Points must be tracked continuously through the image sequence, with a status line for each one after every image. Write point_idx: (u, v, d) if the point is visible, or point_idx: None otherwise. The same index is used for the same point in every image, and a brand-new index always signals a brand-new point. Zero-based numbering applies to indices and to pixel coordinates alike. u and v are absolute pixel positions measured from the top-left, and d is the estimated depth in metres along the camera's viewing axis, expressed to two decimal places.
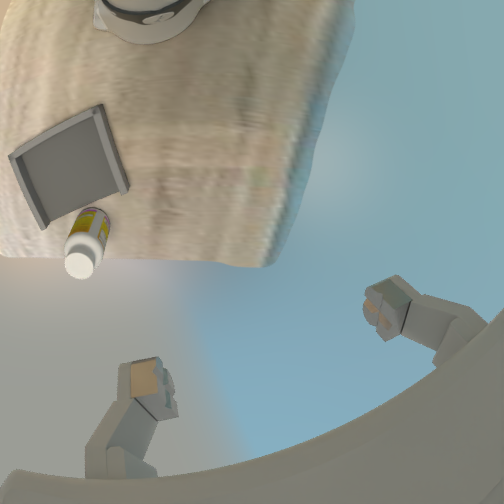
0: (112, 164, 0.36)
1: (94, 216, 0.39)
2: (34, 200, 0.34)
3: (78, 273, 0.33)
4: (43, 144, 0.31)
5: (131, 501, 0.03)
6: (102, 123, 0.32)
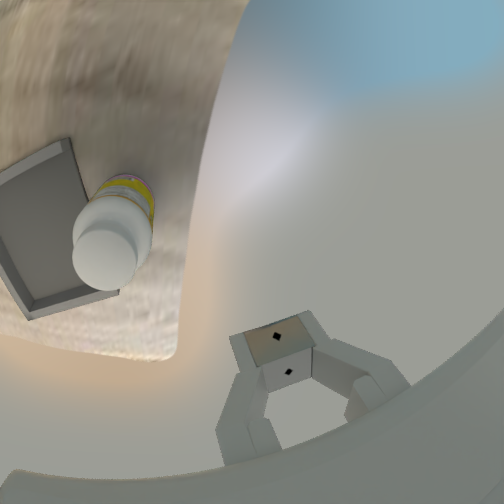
0: (20, 168, 0.18)
1: None
2: (77, 294, 0.27)
3: (120, 267, 0.17)
4: (19, 268, 0.25)
5: (131, 501, 0.03)
6: None
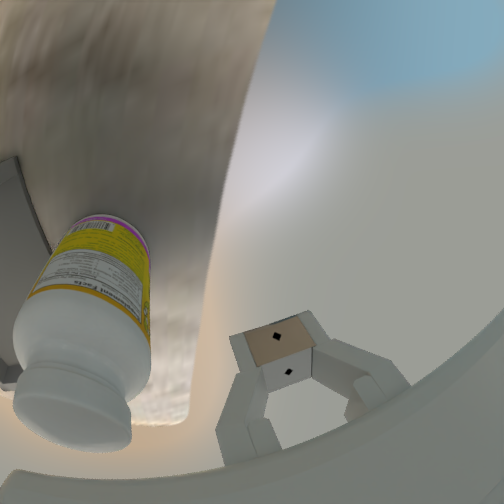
0: None
1: None
2: None
3: (103, 437, 0.07)
4: None
5: (131, 501, 0.03)
6: None
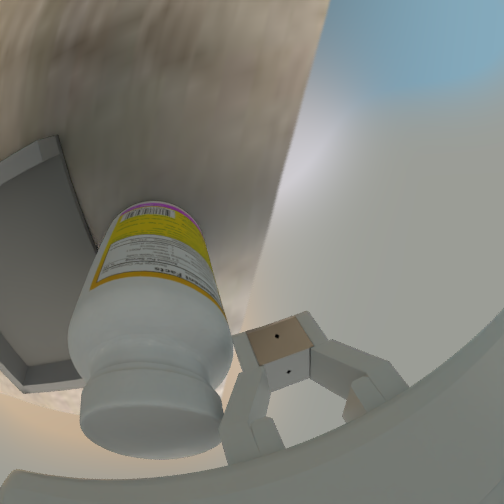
0: None
1: None
2: None
3: (192, 441, 0.07)
4: (1, 329, 0.15)
5: (131, 501, 0.03)
6: None
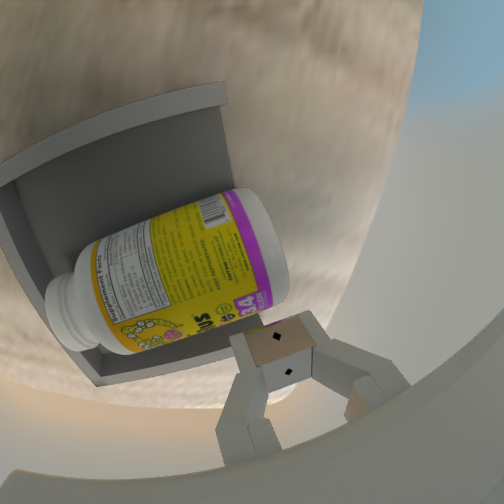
0: (117, 122, 0.11)
1: None
2: (196, 349, 0.19)
3: None
4: None
5: (131, 501, 0.03)
6: (8, 162, 0.09)
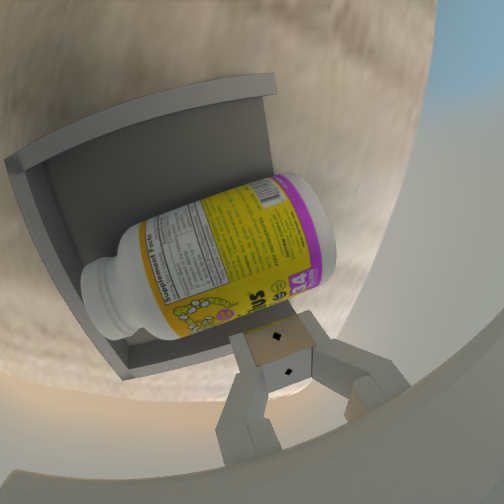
0: (170, 103, 0.11)
1: None
2: None
3: None
4: None
5: (131, 501, 0.03)
6: (44, 139, 0.10)
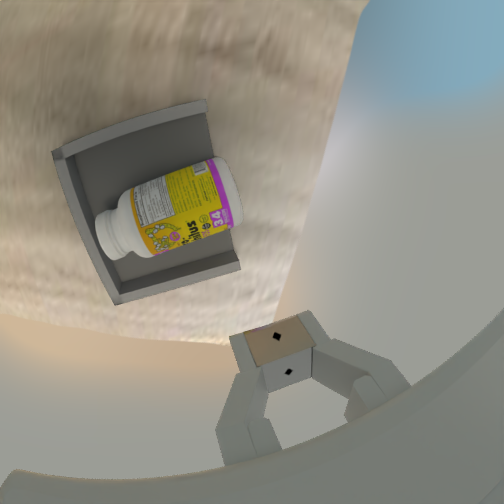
0: (147, 121, 0.20)
1: None
2: (189, 271, 0.29)
3: None
4: None
5: (131, 501, 0.03)
6: (77, 140, 0.19)
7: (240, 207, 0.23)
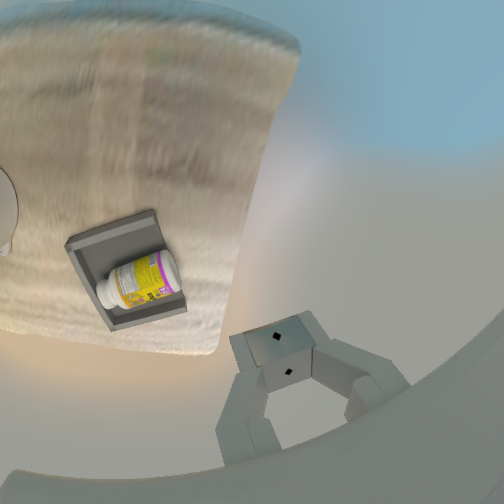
0: (120, 231, 0.36)
1: None
2: (155, 312, 0.45)
3: None
4: None
5: (131, 501, 0.03)
6: (79, 241, 0.34)
7: (176, 284, 0.38)
